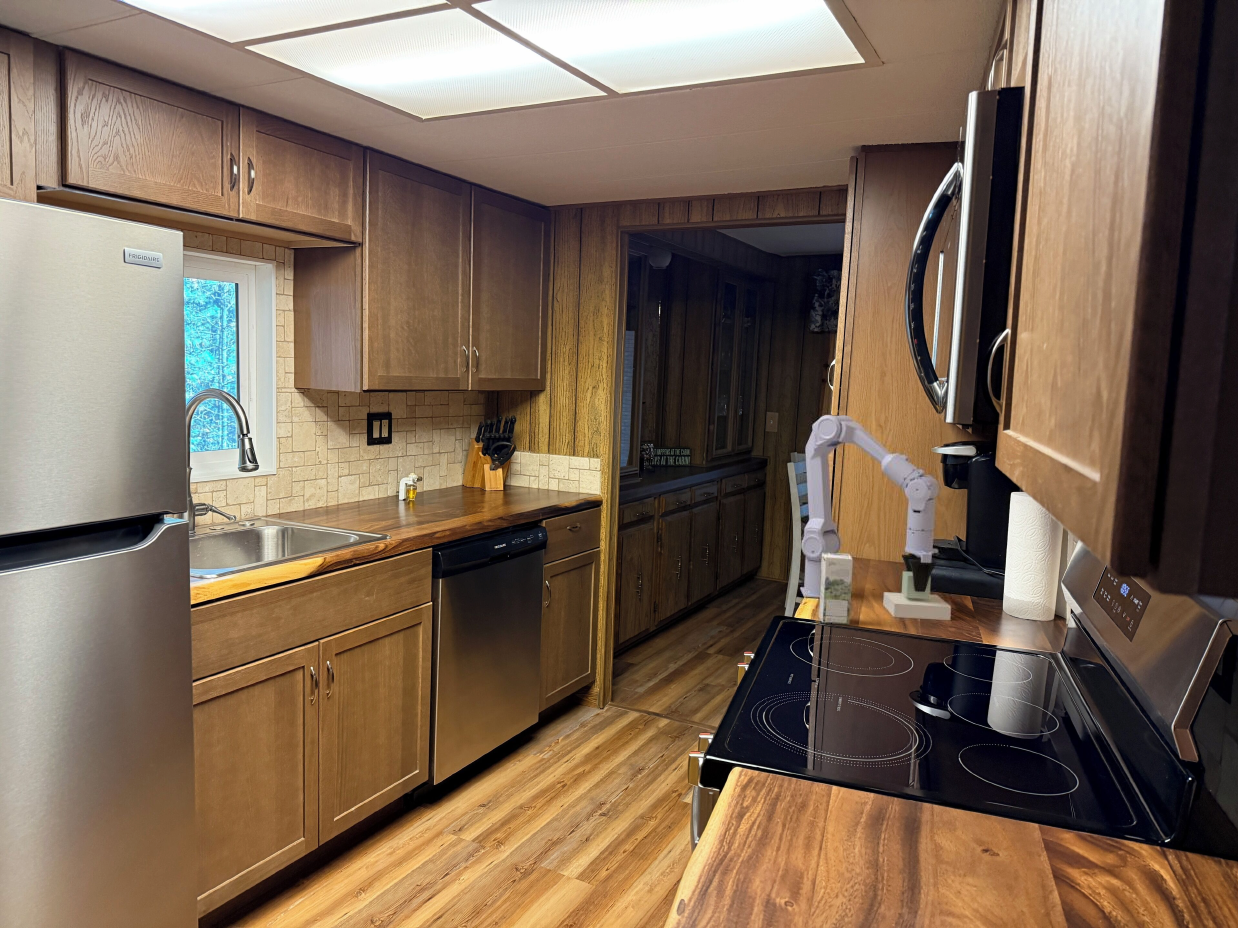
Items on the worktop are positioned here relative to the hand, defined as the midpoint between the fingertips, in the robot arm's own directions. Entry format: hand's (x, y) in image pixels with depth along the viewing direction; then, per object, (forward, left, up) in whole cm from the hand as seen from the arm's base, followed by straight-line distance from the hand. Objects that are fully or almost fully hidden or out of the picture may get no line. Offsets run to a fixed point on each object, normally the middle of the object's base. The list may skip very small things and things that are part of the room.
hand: (916, 588), depth 193 cm
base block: (0, 0, -5) cm, 5 cm away
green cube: (0, 0, -2) cm, 2 cm away
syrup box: (+13, -20, -6) cm, 25 cm away
